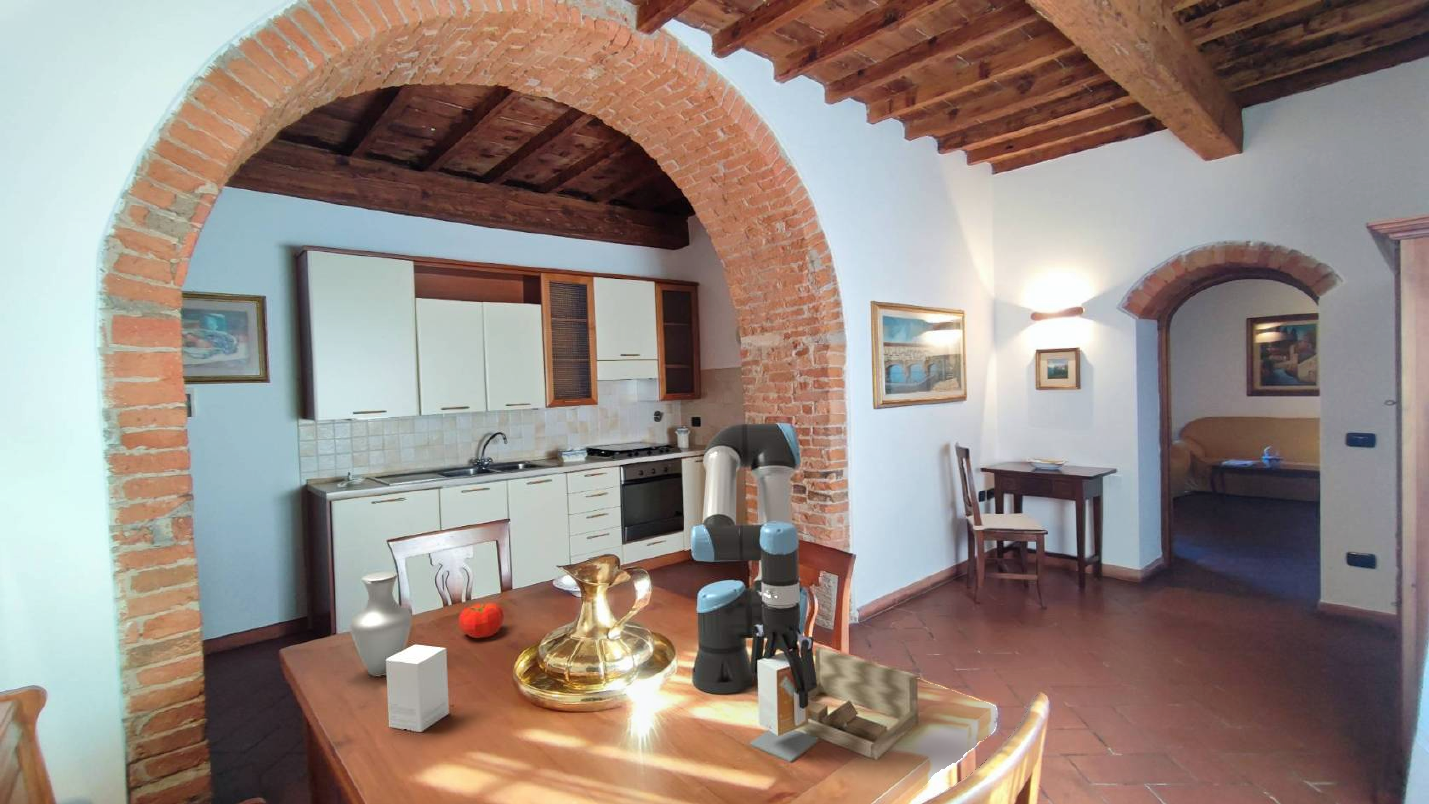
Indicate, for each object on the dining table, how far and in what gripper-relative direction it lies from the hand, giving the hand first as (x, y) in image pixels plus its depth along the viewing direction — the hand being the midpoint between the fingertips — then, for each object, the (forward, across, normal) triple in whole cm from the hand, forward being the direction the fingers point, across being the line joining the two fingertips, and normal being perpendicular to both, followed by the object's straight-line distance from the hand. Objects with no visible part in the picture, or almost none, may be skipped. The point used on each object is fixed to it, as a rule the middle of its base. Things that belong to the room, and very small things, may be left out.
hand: (783, 716), depth 134 cm
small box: (+2, 0, 0) cm, 2 cm away
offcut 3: (+6, +12, +11) cm, 17 cm away
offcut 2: (+3, +8, +11) cm, 13 cm away
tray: (+5, +5, +15) cm, 17 cm away
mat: (+5, 0, 0) cm, 5 cm away
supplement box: (+6, -68, -42) cm, 80 cm away
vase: (+5, -101, -36) cm, 107 cm away
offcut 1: (+6, -1, +11) cm, 12 cm away
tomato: (+5, -104, -7) cm, 104 cm away
